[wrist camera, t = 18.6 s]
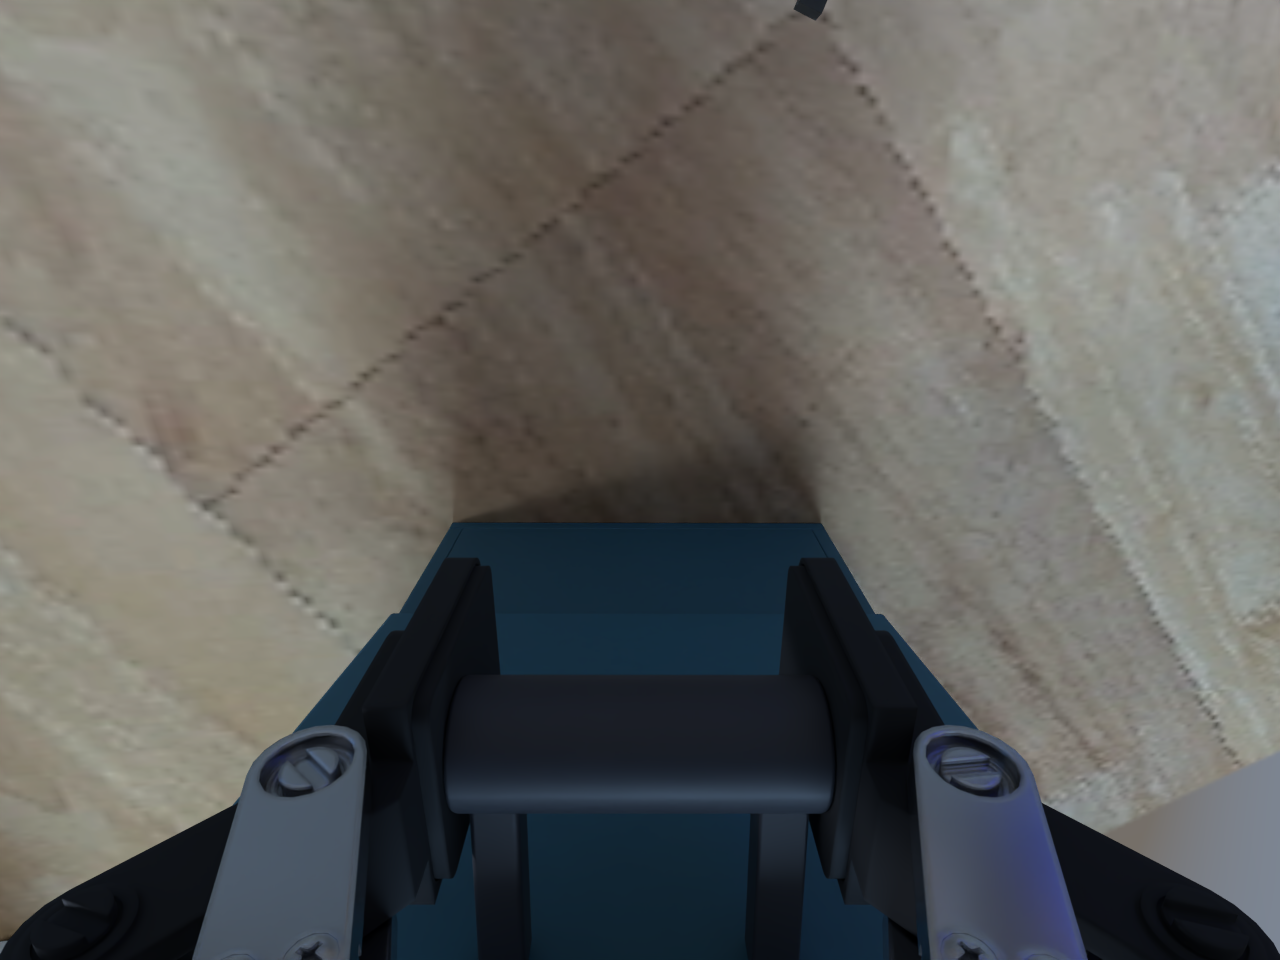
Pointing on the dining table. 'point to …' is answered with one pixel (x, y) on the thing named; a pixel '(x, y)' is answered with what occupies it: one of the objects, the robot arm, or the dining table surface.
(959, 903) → the robot arm
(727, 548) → the blue open rectangular box
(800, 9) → the ramen bowl
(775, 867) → the lid
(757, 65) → the dining table surface
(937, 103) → the dining table surface
